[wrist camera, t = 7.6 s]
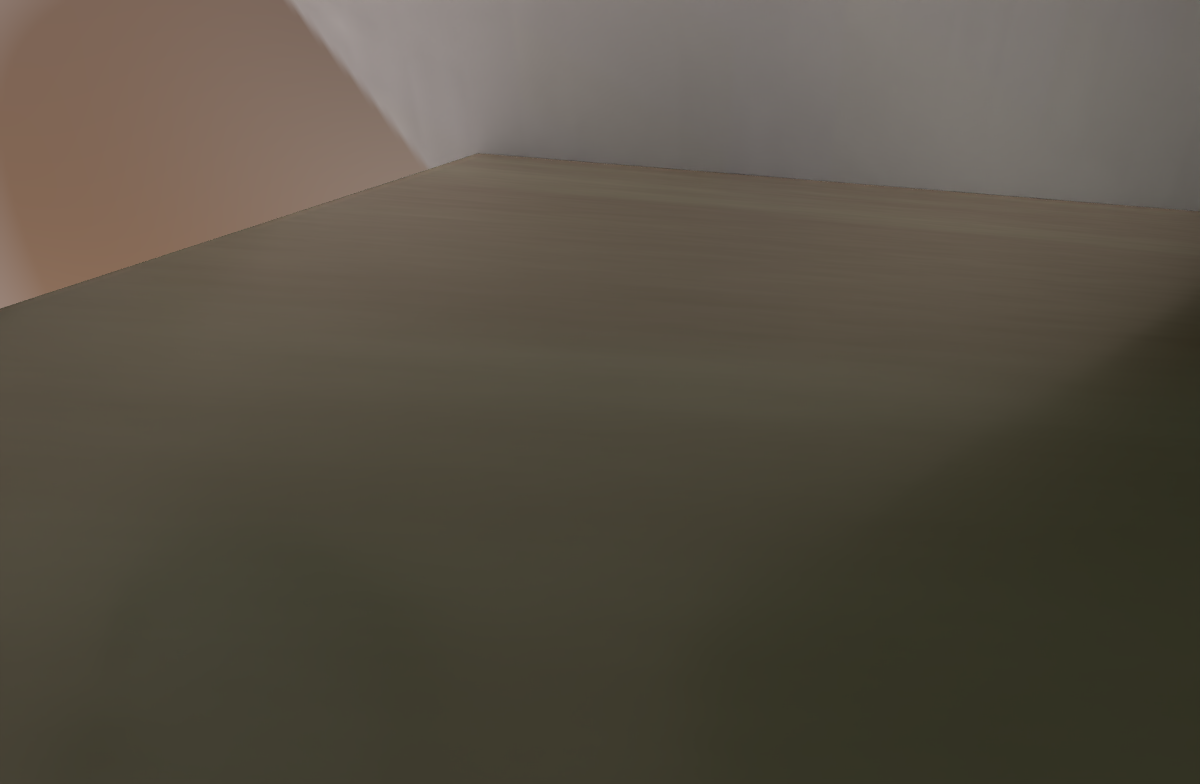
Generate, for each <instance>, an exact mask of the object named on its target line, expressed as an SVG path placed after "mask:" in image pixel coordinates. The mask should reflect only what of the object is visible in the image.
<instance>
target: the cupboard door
mask: <svg viewBox="0 0 1200 784" xmlns="http://www.w3.org/2000/svg"><path fill="white" fill-rule="evenodd" d="M0 784H1200V211H1188V210H1175V209H1163V208H1150V207H1138V206H1126V205H1113V204H1101V203H1088V202H1076V201H1064V200H1051V199H1039V198H1027V197H1014V196H1002V195H989V194H977V193H965V192H952V191H940V190H928V189H915V188H903V187H890V186H878V185H866V184H853V183H841V182H828V181H816V180H804V179H791V178H779V177H767V176H754V175H742V174H729V173H717V172H705V171H692V170H680V169H668V168H655V167H643V166H630V165H618V164H606V163H593V162H581V161H568V160H556V159H544V158H531V157H519V156H507V155H494V154H482V153H477V154H474V155H471V156H468V157H465V158H462V159H459V160H456V161H453V162H450V163H447V164H443V165H440V166H437V167H434V168H431V169H428V170H425V171H422V172H419V173H416V174H413V175H410V176H407V177H404V178H400V179H398V180H395V181H391V182H388V183H385V184H382V185H379V186H376V187H373V188H370V189H367V190H364V191H360V192H358V193H354V194H351V195H348V196H345V197H342V198H339V199H336V200H333V201H330V202H327V203H324V204H321V205H318V206H314V207H311V208H309V209H305V210H302V211H299V212H296V213H293V214H290V215H287V216H284V217H281V218H277V219H274V220H271V221H268V222H265V223H263V224H259V225H256V226H253V227H250V228H247V229H244V230H241V231H238V232H235V233H231V234H228V235H225V236H222V237H219V238H216V239H213V240H210V241H207V242H204V243H201V244H198V245H194V246H191V247H188V248H185V249H182V250H179V251H176V252H173V253H170V254H167V255H164V256H161V257H158V258H155V259H151V260H149V261H145V262H142V263H139V264H136V265H133V266H130V267H127V268H124V269H121V270H118V271H115V272H111V273H108V274H105V275H102V276H99V277H96V278H93V279H90V280H87V281H84V282H81V283H78V284H75V285H72V286H68V287H65V288H62V289H59V290H56V291H53V292H50V293H47V294H44V295H41V296H38V297H35V298H32V299H28V300H25V301H23V302H19V303H16V304H13V305H10V306H7V307H4V308H1V309H0Z"/></svg>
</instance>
